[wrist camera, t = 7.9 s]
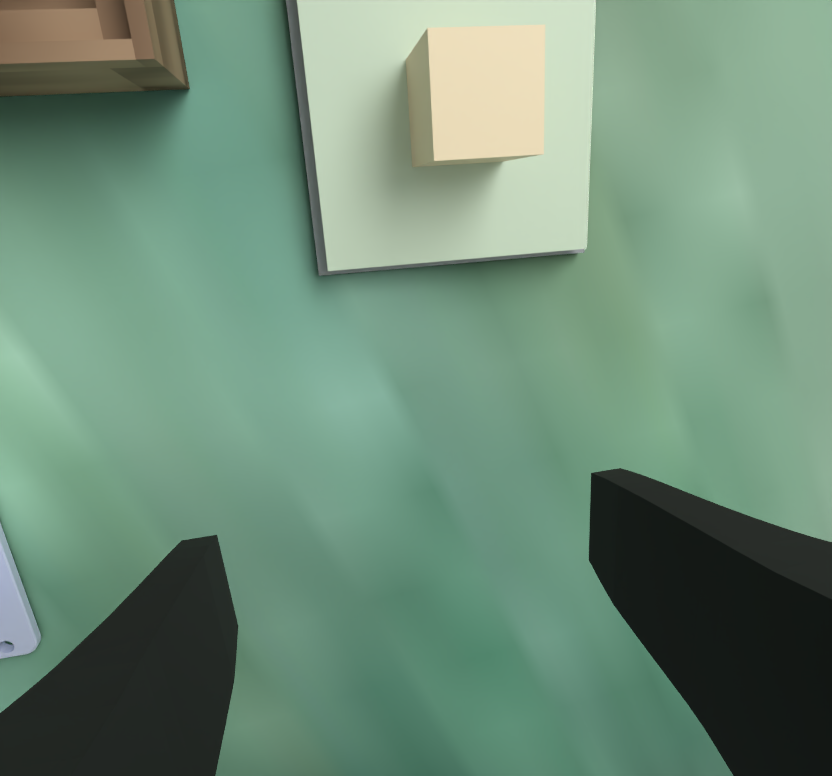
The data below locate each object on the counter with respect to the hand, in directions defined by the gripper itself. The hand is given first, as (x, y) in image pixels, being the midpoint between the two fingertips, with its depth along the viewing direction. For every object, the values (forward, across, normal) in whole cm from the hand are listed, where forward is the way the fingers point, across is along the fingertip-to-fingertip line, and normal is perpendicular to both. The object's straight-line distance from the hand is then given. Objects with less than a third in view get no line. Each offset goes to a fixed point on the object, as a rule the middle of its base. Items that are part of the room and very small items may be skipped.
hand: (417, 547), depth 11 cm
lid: (+9, -3, -8) cm, 13 cm away
